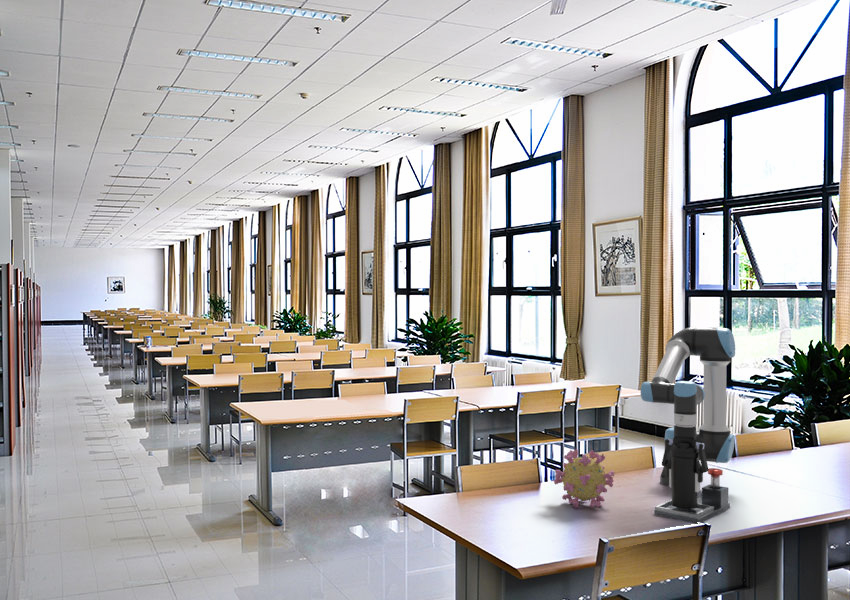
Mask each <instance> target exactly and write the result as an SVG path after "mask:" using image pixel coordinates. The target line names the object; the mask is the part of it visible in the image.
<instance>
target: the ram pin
mask: <svg viewBox="0 0 850 600" xmlns="http://www.w3.org/2000/svg"><path fill="white" fill-rule="evenodd" d="M707 474H708V475H710V485H711V488H712V489H718V490H719V489H720V486H721V485H720V484H721V483H720V476H723V475H724V473H723V469H721V468H714V467H712V468H708V471H707Z"/></svg>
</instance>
